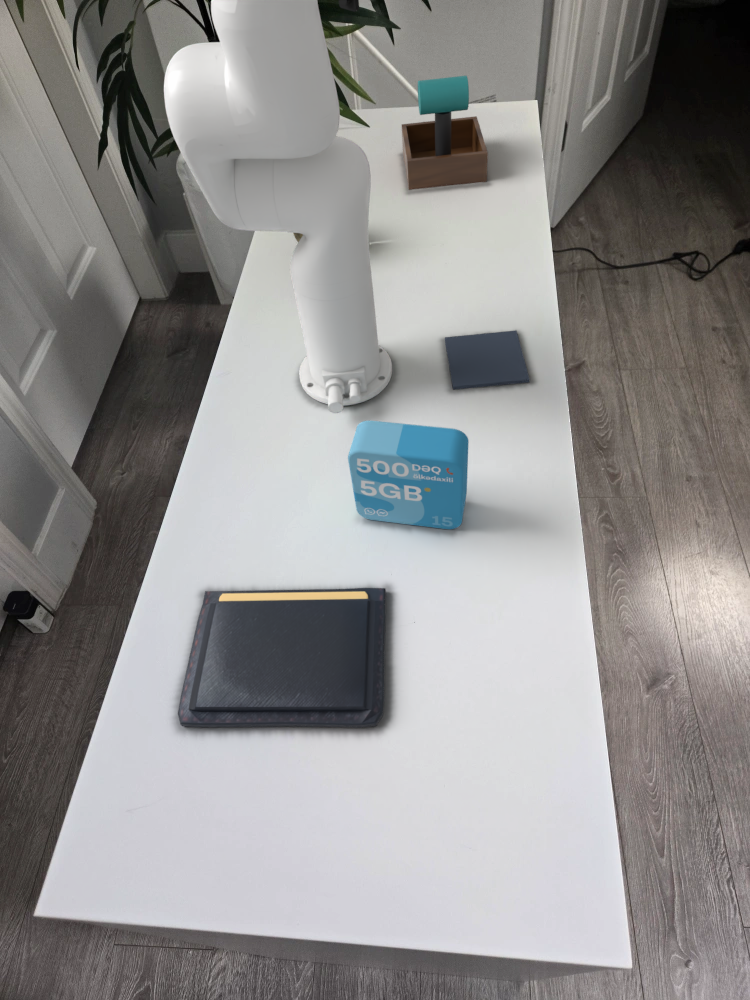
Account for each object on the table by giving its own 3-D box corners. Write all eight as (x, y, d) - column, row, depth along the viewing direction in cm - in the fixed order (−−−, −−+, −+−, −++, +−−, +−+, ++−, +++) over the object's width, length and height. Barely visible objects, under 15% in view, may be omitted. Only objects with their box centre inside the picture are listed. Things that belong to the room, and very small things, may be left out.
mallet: (467, 172, 126) (469, 84, 114) (422, 176, 126) (420, 89, 114) (463, 155, 129) (464, 69, 118) (419, 160, 130) (416, 74, 118)
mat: (529, 382, 93) (529, 379, 92) (453, 389, 93) (453, 386, 93) (516, 333, 99) (516, 330, 98) (444, 340, 99) (444, 337, 99)
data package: (357, 519, 82) (345, 449, 72) (365, 488, 84) (355, 417, 75) (461, 531, 79) (463, 462, 70) (466, 500, 82) (469, 428, 72)
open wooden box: (486, 184, 124) (487, 152, 119) (408, 192, 124) (407, 161, 120) (475, 146, 132) (476, 116, 128) (402, 154, 132) (401, 124, 128)
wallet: (169, 719, 67) (202, 580, 76) (175, 726, 68) (207, 589, 77) (381, 726, 65) (389, 582, 74) (382, 733, 66) (390, 591, 75)
